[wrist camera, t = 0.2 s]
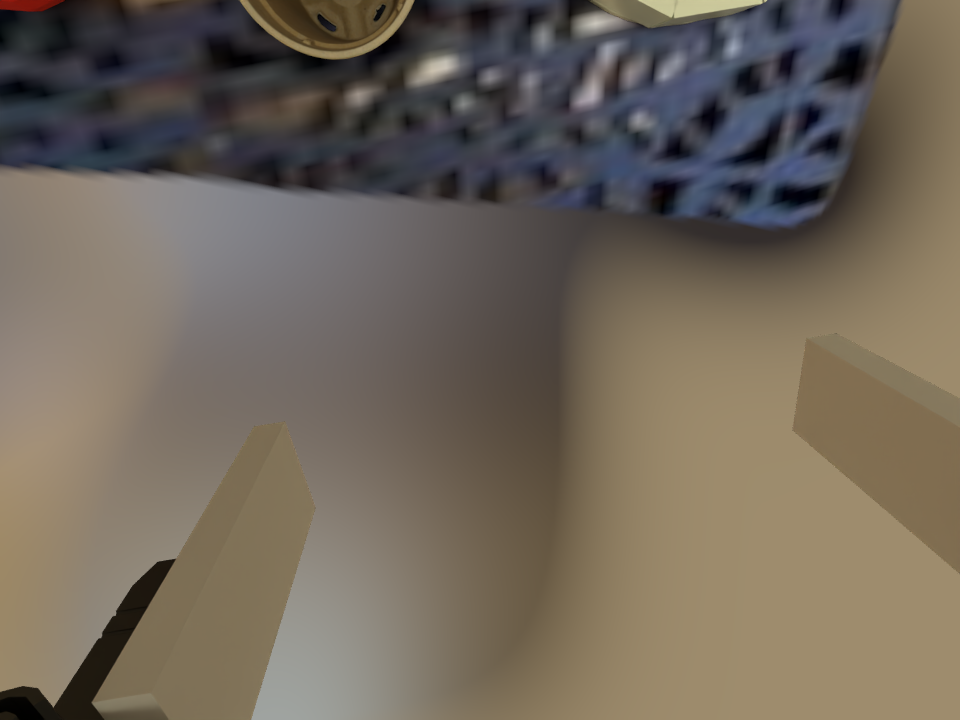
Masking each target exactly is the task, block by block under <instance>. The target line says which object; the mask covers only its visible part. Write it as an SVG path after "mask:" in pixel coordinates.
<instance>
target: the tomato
mask: <svg viewBox="0 0 960 720" xmlns="http://www.w3.org/2000/svg"><path fill="white" fill-rule="evenodd" d="M63 1H65V0H0V9H6V10H18V11H29V12H31V11H44V10H46V9H48V8H50V7H52V6H55V5H57V4H59V3H61V2H63Z"/></svg>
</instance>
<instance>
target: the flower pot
mask: <svg viewBox="0 0 960 720" xmlns="http://www.w3.org/2000/svg"><path fill="white" fill-rule="evenodd" d="M240 2H241V3H242V5H243V6H244V8H245V9H246V10H247V12H248V13H249V14H250V15H251V16H252V18H253V19H254V20H255V21H256V22H257V23H258V24H259V25H260V26H261V27H263V28H264V29H265V30H266V31H267V32H268V33H269V34H270V35H272V36H273V37H275V38H276V39H277V40H279V41H280V42H282V43H283V44H285V45H287V46H289V47H291V48H293V49H295V50H297V51H299V52H302V53H304V54H307V55H310V56H314V57H319V58H324V59H348V58H352V57H356V56H360V55H362V54H365V53H367V52H369V51H371V50H373V49H375V48H376V47H378V46H380V45H381V44H382V43H384V42H385V41H386V40H387V39H389V38H390V37H391V36H392V35H393V34H394V33H395V31H396V30H397V29H398V28H399V27H400V26H401V24H402V23H403V21H404V20H405V18H406V17H407V15H408V13H409V11H410V9H411V7H412V5H413V2H414V0H240ZM382 4H384V5H385V6H386V7H385V9H384V11H383V13H382V15H381V17H380V18H379V20H377V21H374V20H373V19H374V18H375V16H376V14H377V12H376V9H377V10H378V9H380V7H381V5H382ZM318 14H321V15H322V16H323V17H324V18H325V19H327V20H328V21H329V22H330V23H332V24H333V25H335V26H336V31H335V32H333V31H330V30H328V29H326V28H325V27H324V26H322V25H321V24H320V22H319V20H318V17H317V16H318Z"/></svg>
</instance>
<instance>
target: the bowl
mask: <svg viewBox="0 0 960 720" xmlns="http://www.w3.org/2000/svg"><path fill="white" fill-rule="evenodd" d="M589 1H590V2H591V3H593V4H595V5H596V6H598V7H599V8H601V9H603V10H604V11H606V12H608V13H610V14H612V15H614V16H617V17H619V18H622V19H624V20H627V21H631V22H635V23H639V24H642V25H644V26H646V27H648V28H650V27H651V28H656V27H662V26H671V25H682V24H687V23H691V22H696V21H700V20H704V19H709V18H715V17H721V16H727V15H732V14H735V13H737V12H740V11H743V10H746V9H748V8H751V7H754V6H757V5H759V4H762V3H764V2H766V1H767V0H589Z"/></svg>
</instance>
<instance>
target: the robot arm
mask: <svg viewBox="0 0 960 720" xmlns="http://www.w3.org/2000/svg"><path fill="white" fill-rule="evenodd" d="M793 431H794V432H795V433H796V434H798V435H799V436H800V437H801V438H802V439H803V440H805V441H806V442H807V443H808V444H809V445H810V446H812V447H813V448H814V449H815V450H816V451H817V452H819V453H820V454H821V455H822V456H823V457H825V458H826V459H827V460H828V461H829V462H830V463H831V464H832V465H834V466H835V467H836V468H837V469H838V470H840V471H841V472H842V473H843V474H844V475H845V476H846V477H848V478H849V479H850V480H851V481H852V482H853V483H855V484H856V485H857V486H858V487H859V488H860V489H862V490H863V491H864V492H865V493H866V494H867V495H869V496H870V497H871V498H872V499H873V500H874V501H876V502H877V503H878V504H879V505H880V506H881V507H882V508H884V509H885V510H886V511H887V512H888V513H890V514H891V515H892V516H893V517H894V518H895V519H896V520H898V521H899V522H900V523H901V524H902V525H903V526H905V527H906V528H907V529H908V530H909V531H910V532H912V533H913V534H914V535H915V536H916V537H917V538H919V539H920V540H921V541H922V542H923V543H924V544H926V545H927V546H928V547H929V548H930V549H931V550H932V551H934V552H935V553H936V554H937V555H938V556H940V557H941V558H942V559H943V560H944V561H945V562H947V563H948V564H949V565H950V566H951V567H952V568H953V569H955V570H956V571H957V572H958V573H959V574H960V398H958V397H956V396H954V395H952V394H951V393H949V392H947V391H945V390H943V389H941V388H939V387H937V386H935V385H933V384H932V383H930V382H928V381H926V380H924V379H922V378H920V377H918V376H916V375H914V374H912V373H911V372H909V371H907V370H905V369H903V368H901V367H899V366H897V365H895V364H894V363H892V362H890V361H888V360H886V359H884V358H882V357H880V356H878V355H876V354H875V353H873V352H871V351H869V350H867V349H865V348H863V347H861V346H859V345H857V344H856V343H853V342H852V341H850V340H848V339H846V338H844V337H842V336H840V335H838V334H837V333H835V334H829V335H823V336H817V337H811V338H807V339H806V344H805V351H804V358H803V364H802V371H801V377H800V385H799V391H798V397H797V404H796V411H795V418H794V424H793ZM314 511H315V505H314V502H313V499H312V496H311V493H310V491H309V488H308V485H307V482H306V479H305V476H304V474H303V471H302V468H301V465H300V462H299V459H298V457H297V454H296V451H295V448H294V445H293V442H292V440H291V437H290V434H289V431H288V428H287V426H286V423H285V422H279V423H273V424H267V425H261V426H254V428H253V429H252V431H251V433H250V435H249V436H248V438H247V440H246V441H245V443H244V445H243V446H242V448H241V450H240V451H239V453H238V455H237V457H236V458H235V460H234V462H233V463H232V465H231V467H230V468H229V470H228V472H227V474H226V475H225V477H224V479H223V480H222V482H221V484H220V485H219V487H218V489H217V491H216V492H215V494H214V496H213V497H212V499H211V501H210V502H209V504H208V506H207V508H206V509H205V511H204V513H203V514H202V516H201V518H200V519H199V521H198V523H197V525H196V526H195V528H194V530H193V531H192V533H191V535H190V536H189V538H188V540H187V542H186V543H185V545H184V547H183V548H182V550H181V552H180V553H179V555H178V557H177V559H172V560H166V561H159V562H157V563H156V564H155V565H154V566H153V567H152V568H151V569H150V570H149V571H148V572H147V573H145V574H144V575H143V576H142V577H141V578H140V579H139V580H138V581H137V582H136V583H135V584H134V585H133V586H132V587H131V589H130V591H129V592H128V594H127V595H126V597H125V598H124V600H123V601H122V603H121V604H120V606H119V607H118V609H117V611H116V616H113V617H112V618H111V620H110V622H109V623H108V624H107V626H106V628H105V629H104V631H103V633H102V638H99V639H98V640H97V641H96V643H95V644H94V646H93V648H92V649H91V651H90V652H89V654H88V655H87V657H86V659H85V660H84V662H83V663H82V665H81V666H80V668H79V669H78V671H77V673H76V674H75V675H74V677H73V678H72V680H71V682H70V683H69V685H68V686H67V688H66V689H65V691H64V692H63V694H62V695H61V697H60V698H59V700H58V702H57V703H56V705H55V706H54V708H53V707H52V705H51V704H50V703H49V702H48V700H47V699H46V698H45V697H44V695H43V694H42V693H41V692H40V690H39V689H38V688H32V687H25V686H22V687H17V688H14V689H10V690H6V691H2V692H0V720H251V718H252V715H253V711H254V708H255V705H256V701H257V698H258V695H259V692H260V688H261V685H262V682H263V679H264V675H265V672H266V669H267V665H268V662H269V659H270V656H271V652H272V649H273V646H274V643H275V639H276V636H277V632H278V629H279V626H280V623H281V620H282V616H283V613H284V610H285V606H286V603H287V600H288V597H289V593H290V590H291V587H292V584H293V580H294V577H295V574H296V570H297V567H298V564H299V561H300V557H301V554H302V551H303V547H304V544H305V541H306V537H307V534H308V531H309V528H310V525H311V521H312V518H313V515H314Z"/></svg>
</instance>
